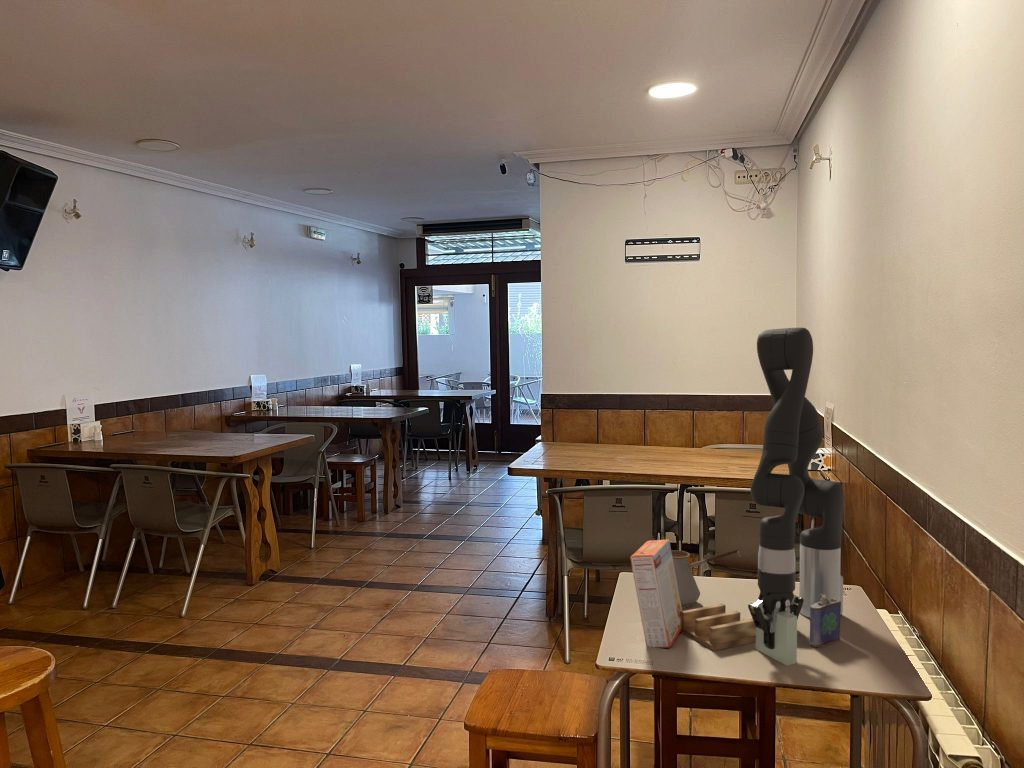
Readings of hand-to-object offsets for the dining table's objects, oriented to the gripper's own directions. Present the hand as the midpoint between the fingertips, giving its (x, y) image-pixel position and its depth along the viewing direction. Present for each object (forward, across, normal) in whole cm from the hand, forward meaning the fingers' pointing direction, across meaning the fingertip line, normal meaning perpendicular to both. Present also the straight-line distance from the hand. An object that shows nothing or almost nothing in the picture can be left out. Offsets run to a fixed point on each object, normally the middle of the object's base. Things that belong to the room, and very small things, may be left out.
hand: (775, 646), depth 155 cm
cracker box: (+3, +15, -18) cm, 24 cm away
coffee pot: (+2, -4, -32) cm, 32 cm away
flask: (+2, -15, -1) cm, 15 cm away
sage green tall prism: (+2, 0, 0) cm, 2 cm away
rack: (+2, +4, -14) cm, 15 cm away
